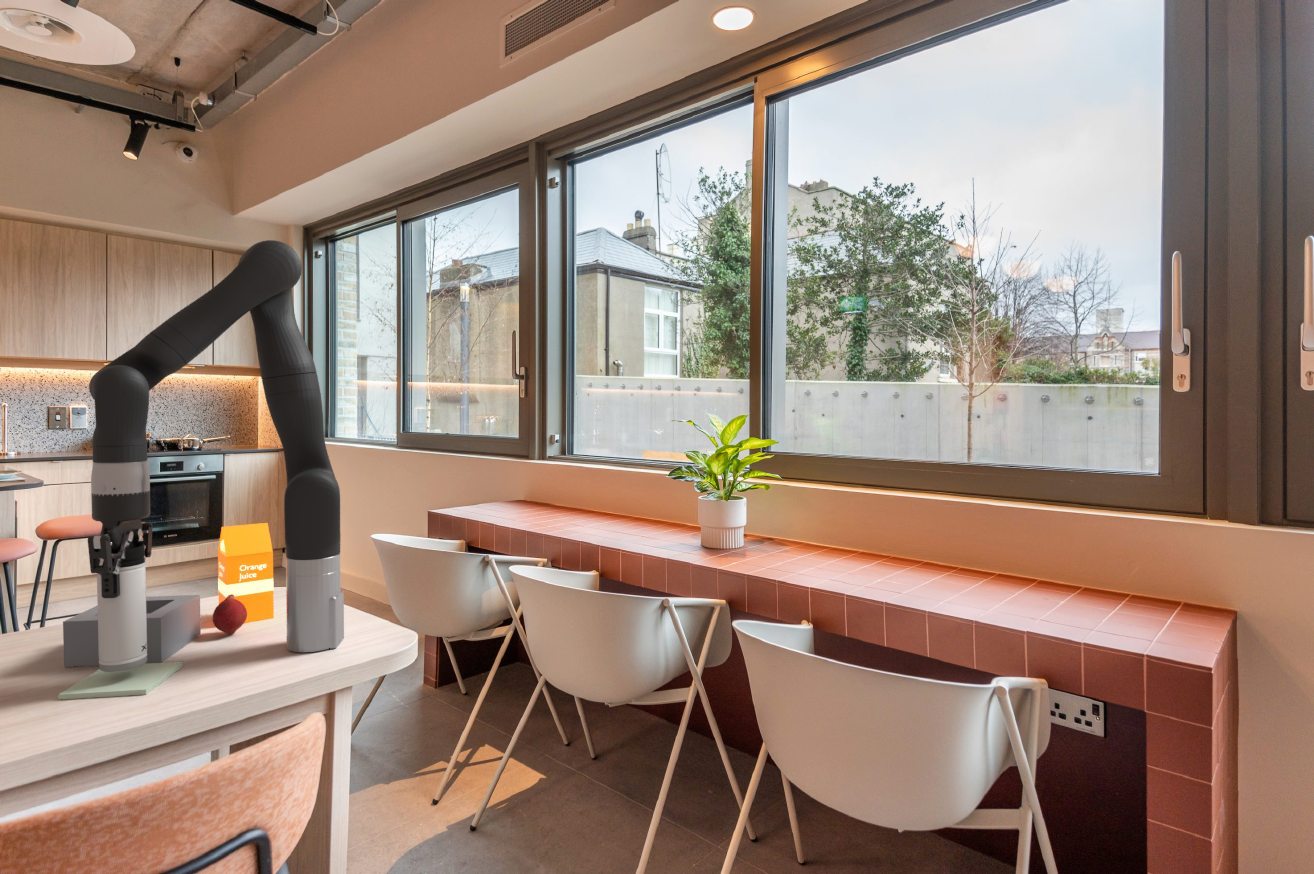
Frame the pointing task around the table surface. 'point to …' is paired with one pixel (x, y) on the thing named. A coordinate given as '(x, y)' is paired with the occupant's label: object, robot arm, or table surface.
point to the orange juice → (247, 569)
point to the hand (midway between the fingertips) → (123, 591)
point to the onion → (229, 615)
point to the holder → (166, 630)
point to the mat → (122, 681)
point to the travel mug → (124, 616)
